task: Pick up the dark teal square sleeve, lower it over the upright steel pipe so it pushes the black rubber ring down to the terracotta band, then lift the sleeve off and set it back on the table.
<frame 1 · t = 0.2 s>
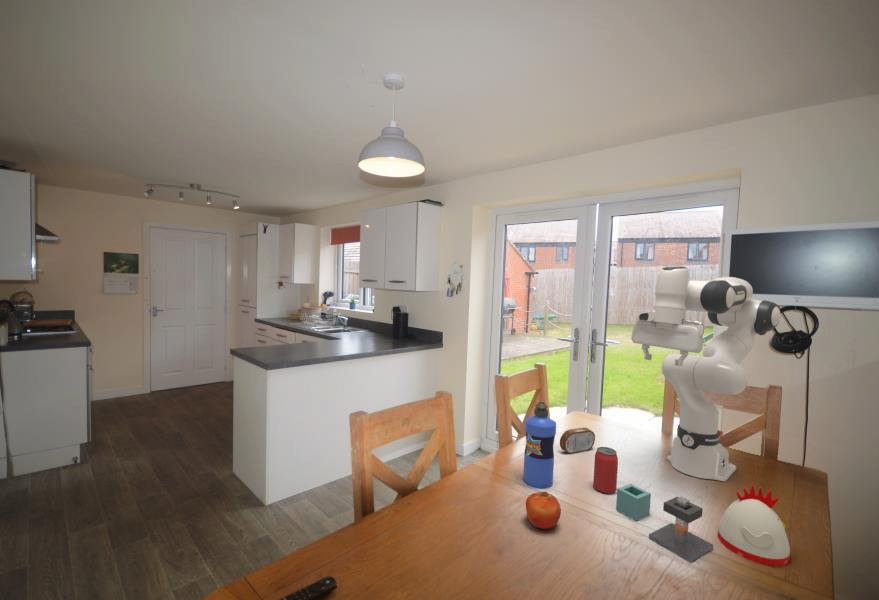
hand: (662, 362, 126), 39 cm above the table, tool pointing down, fingers open, 8 cm apart
sleeve: (632, 512, 113), on the table
kitchen timer: (751, 547, 100), on the table
water bottle: (537, 481, 128), on the table
pipe stand: (680, 543, 100), on the table
tin: (577, 452, 153), on the table
beer can: (604, 489, 125), on the table
tomato: (542, 524, 106), on the table
ring: (682, 509, 99), point 8 cm above the table, slide at 7.5 cm
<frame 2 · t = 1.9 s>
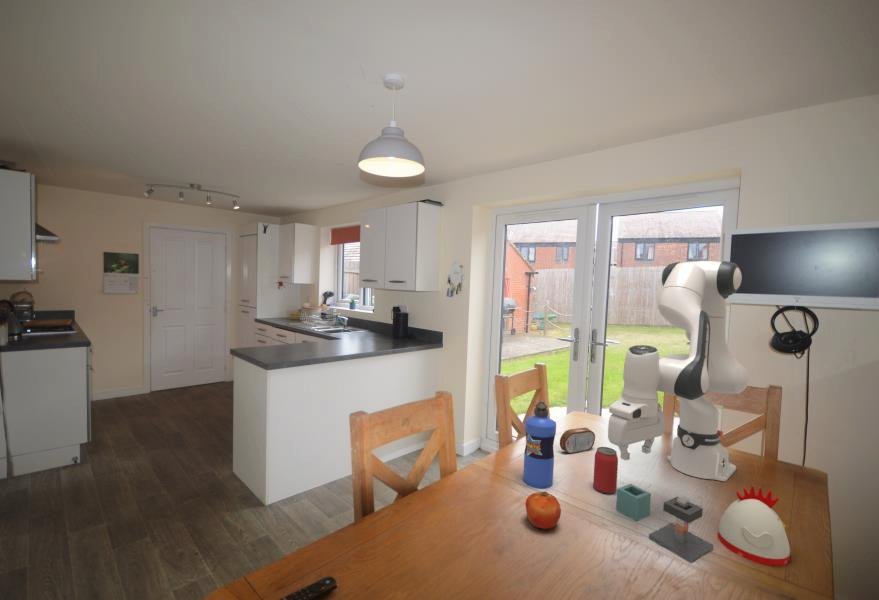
hand: (635, 455, 112), 16 cm above the table, tool pointing down, fingers open, 8 cm apart
nothing on the table moved.
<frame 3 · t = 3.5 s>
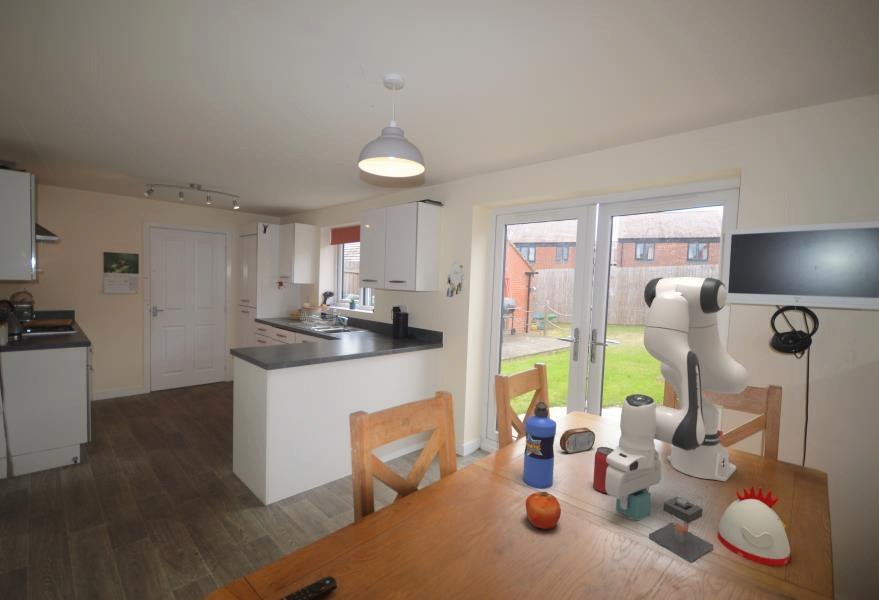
hand: (633, 504, 113), 2 cm above the table, tool pointing down, fingers closed on sleeve, 6 cm apart
sleeve: (632, 512, 113), on the table, touching gripper
everything else where it was.
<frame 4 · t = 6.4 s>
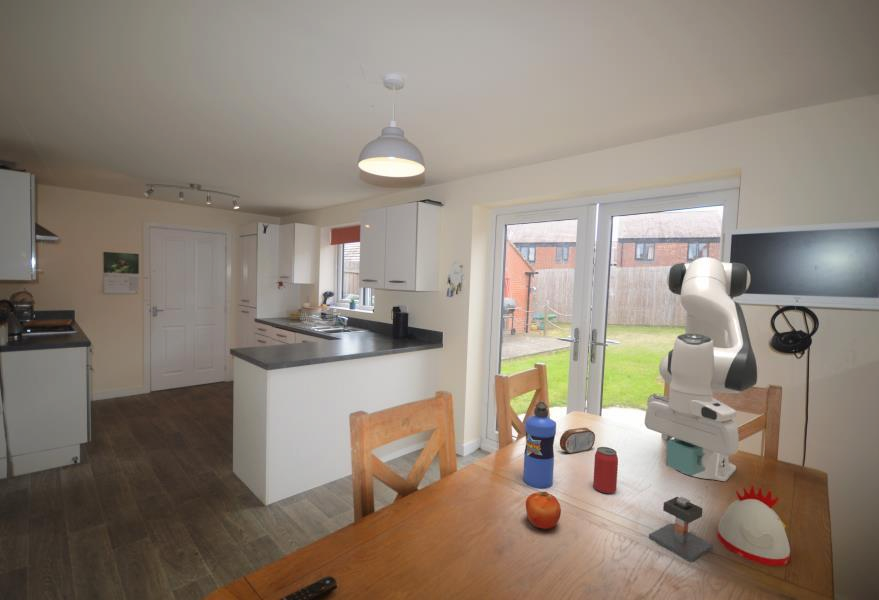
hand: (685, 459, 99), 21 cm above the table, tool pointing down, fingers closed on sleeve, 6 cm apart
sleeve: (685, 467, 99), point 19 cm above the table, touching gripper
everything else where it was.
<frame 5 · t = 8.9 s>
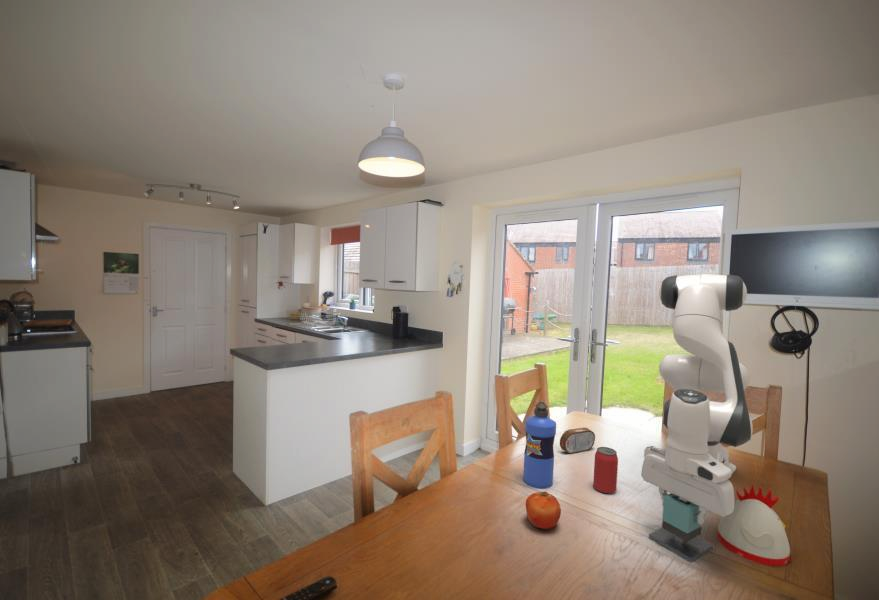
hand: (682, 514, 99), 7 cm above the table, tool pointing down, fingers closed on sleeve, 6 cm apart
sleeve: (681, 523, 99), point 5 cm above the table, touching gripper, ring
ring: (681, 527, 100), point 4 cm above the table, slide at 3.1 cm, touching sleeve
everything else where it was.
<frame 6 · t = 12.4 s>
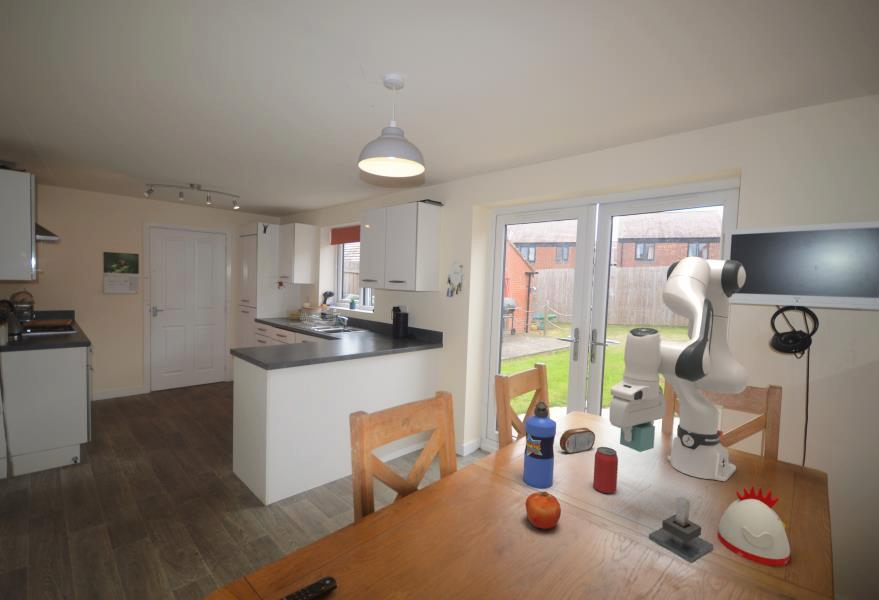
hand: (637, 438, 112), 21 cm above the table, tool pointing down, fingers closed on sleeve, 6 cm apart
sleeve: (636, 445, 112), point 19 cm above the table, touching gripper
ring: (681, 527, 100), point 4 cm above the table, slide at 3.0 cm
everything else where it was.
when the fingers open (3 cm above the table, at t = 15.5 s): sleeve drops 1 cm, on the table.
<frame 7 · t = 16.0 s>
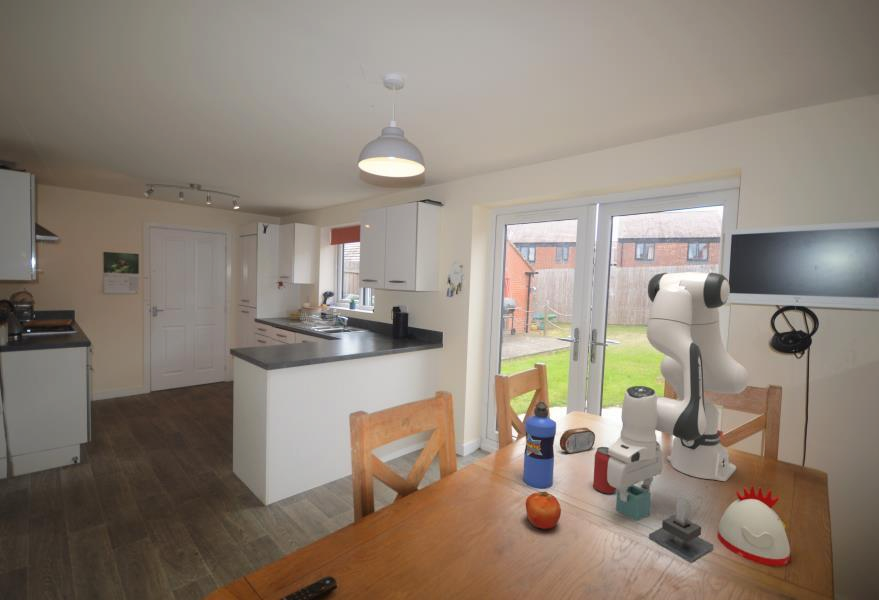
hand: (635, 495, 113), 4 cm above the table, tool pointing down, fingers open, 8 cm apart
sleeve: (632, 512, 113), on the table
everything else where it was.
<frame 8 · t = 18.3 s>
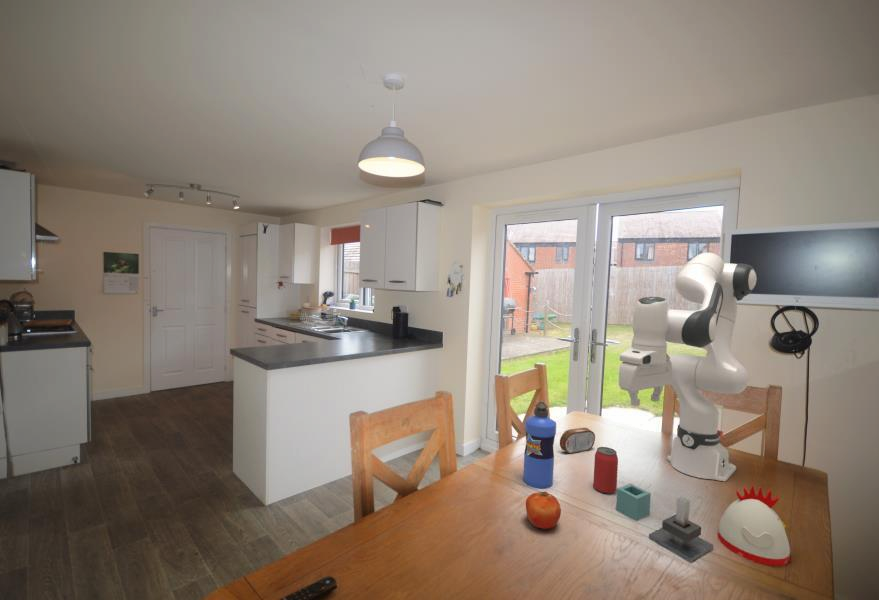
hand: (645, 403, 116), 29 cm above the table, tool pointing down, fingers open, 8 cm apart
nothing on the table moved.
at the end: ring slide at 3.0 cm; the gripper is holding nothing; sleeve on the table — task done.
